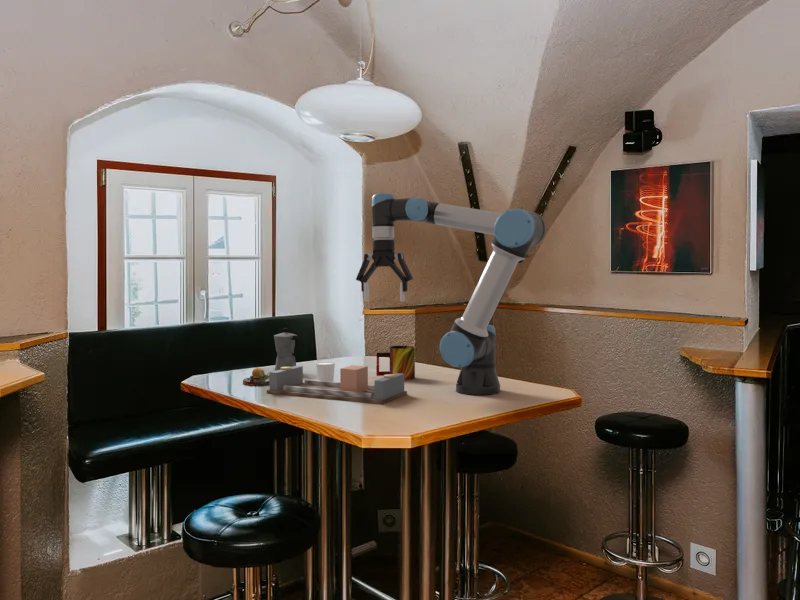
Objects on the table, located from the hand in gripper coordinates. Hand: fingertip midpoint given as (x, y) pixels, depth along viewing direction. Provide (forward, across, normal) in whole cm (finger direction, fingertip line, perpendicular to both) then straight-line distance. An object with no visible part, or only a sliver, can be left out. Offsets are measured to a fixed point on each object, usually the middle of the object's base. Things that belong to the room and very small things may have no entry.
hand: (384, 301), depth 237 cm
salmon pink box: (+29, +6, +12) cm, 32 cm away
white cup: (+30, +27, -6) cm, 41 cm away
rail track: (+30, +13, +12) cm, 35 cm away
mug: (+31, +6, -23) cm, 39 cm away
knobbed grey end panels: (+29, +13, +12) cm, 34 cm away
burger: (+30, +49, +5) cm, 58 cm away
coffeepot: (+30, +52, -19) cm, 63 cm away
